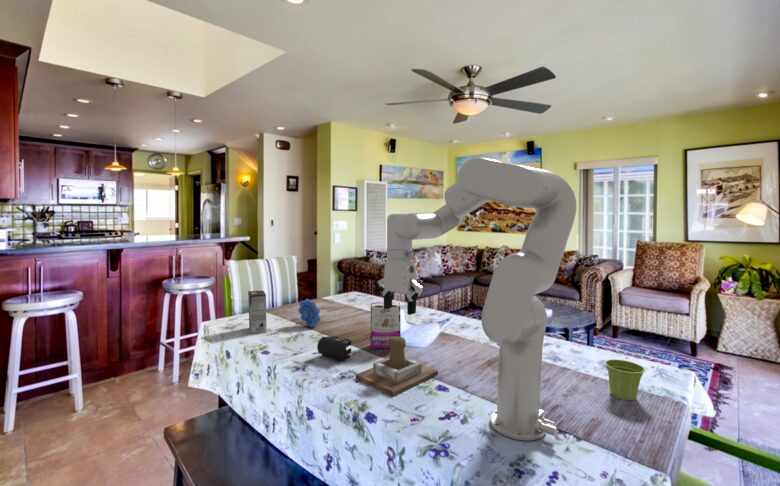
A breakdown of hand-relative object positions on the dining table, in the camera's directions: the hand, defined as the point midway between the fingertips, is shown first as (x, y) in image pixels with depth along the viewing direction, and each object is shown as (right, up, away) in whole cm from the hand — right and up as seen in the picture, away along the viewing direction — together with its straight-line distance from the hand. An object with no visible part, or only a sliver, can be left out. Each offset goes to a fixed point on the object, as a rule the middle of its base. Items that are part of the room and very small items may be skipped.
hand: (399, 311), depth 116 cm
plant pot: (+62, -22, -10) cm, 66 cm away
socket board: (-1, -20, +2) cm, 21 cm away
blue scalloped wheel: (-39, -16, +53) cm, 67 cm away
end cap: (-22, -19, +17) cm, 34 cm away
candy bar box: (-5, -19, +28) cm, 34 cm away
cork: (-1, -19, +2) cm, 20 cm away
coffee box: (-59, -17, +47) cm, 78 cm away
